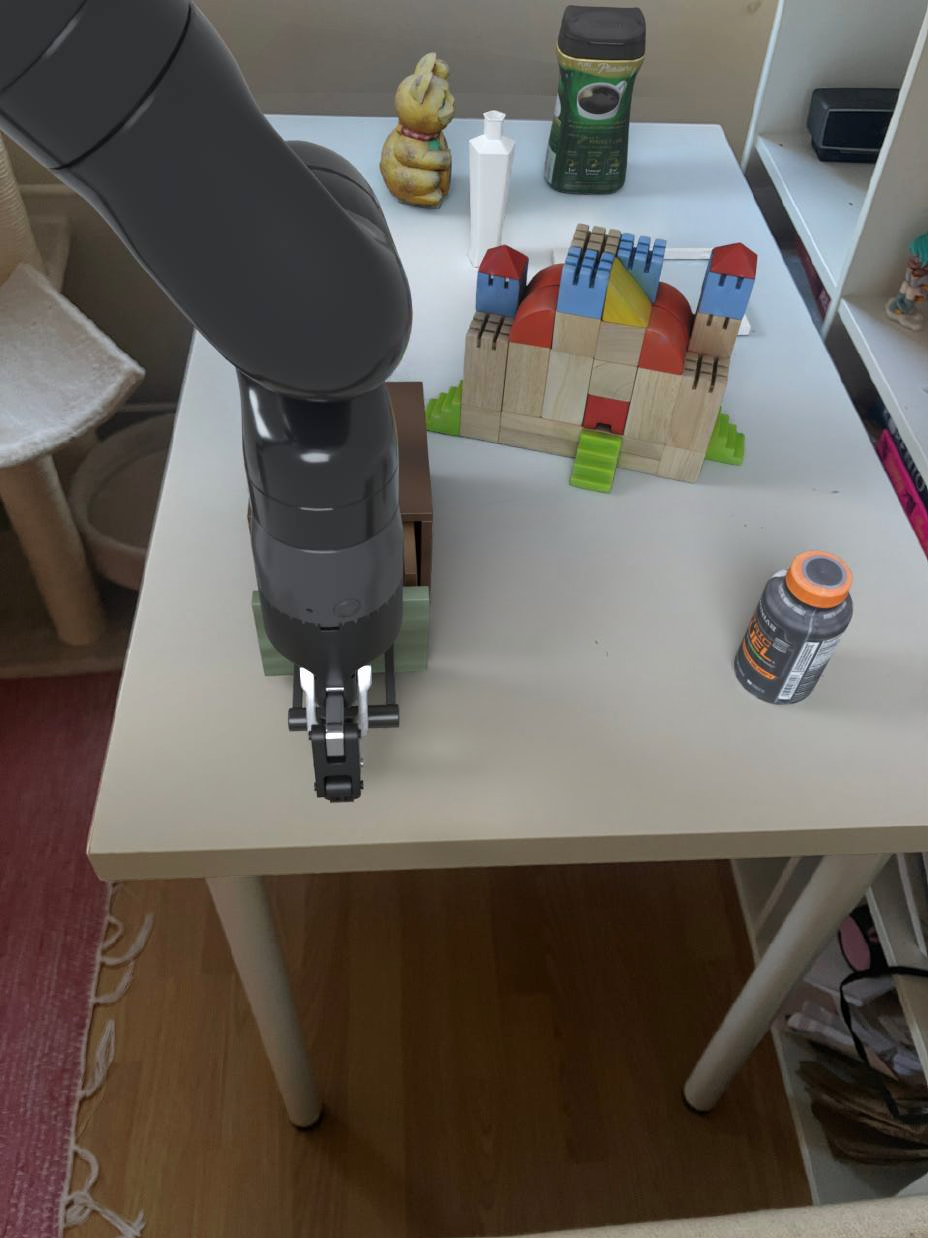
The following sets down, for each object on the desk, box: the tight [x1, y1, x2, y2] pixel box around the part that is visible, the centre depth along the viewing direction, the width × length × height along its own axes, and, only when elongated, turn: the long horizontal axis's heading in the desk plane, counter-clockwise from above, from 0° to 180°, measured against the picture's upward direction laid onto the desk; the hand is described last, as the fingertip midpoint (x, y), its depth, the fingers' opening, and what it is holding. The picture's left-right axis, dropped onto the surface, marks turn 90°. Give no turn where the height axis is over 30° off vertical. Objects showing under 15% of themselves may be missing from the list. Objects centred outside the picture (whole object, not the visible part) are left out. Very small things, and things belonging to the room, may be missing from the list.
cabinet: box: [246, 381, 434, 599], centre depth 77 cm, size 15×13×10 cm
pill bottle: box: [733, 549, 854, 706], centre depth 69 cm, size 6×6×11 cm
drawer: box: [251, 521, 431, 733], centre depth 70 cm, size 20×11×8 cm, turn 4°
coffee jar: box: [543, 4, 647, 195], centre depth 112 cm, size 10×8×19 cm
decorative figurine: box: [379, 51, 456, 209], centre depth 109 cm, size 10×8×15 cm
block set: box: [425, 222, 758, 494], centre depth 82 cm, size 28×14×19 cm, turn 76°
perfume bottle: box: [466, 109, 516, 268], centre depth 102 cm, size 5×4×15 cm
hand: (342, 736), depth 64 cm, fingers open, 8 cm apart
